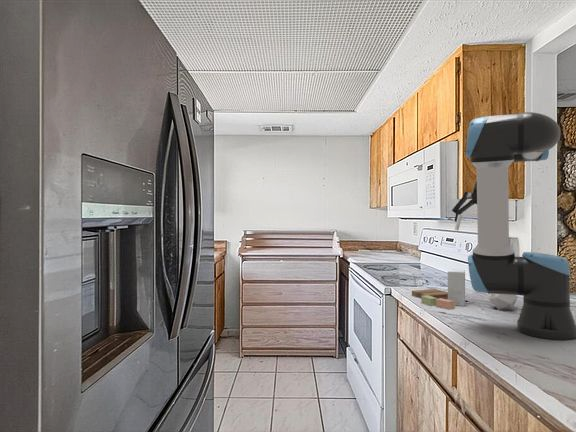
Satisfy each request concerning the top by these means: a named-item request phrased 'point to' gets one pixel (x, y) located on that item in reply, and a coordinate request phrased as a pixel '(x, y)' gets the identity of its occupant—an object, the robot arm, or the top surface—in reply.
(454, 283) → the small box
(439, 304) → the terracotta brick
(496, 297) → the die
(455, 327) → the top surface
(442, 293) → the walnut slab
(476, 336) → the top surface
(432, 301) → the olive brick
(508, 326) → the top surface
